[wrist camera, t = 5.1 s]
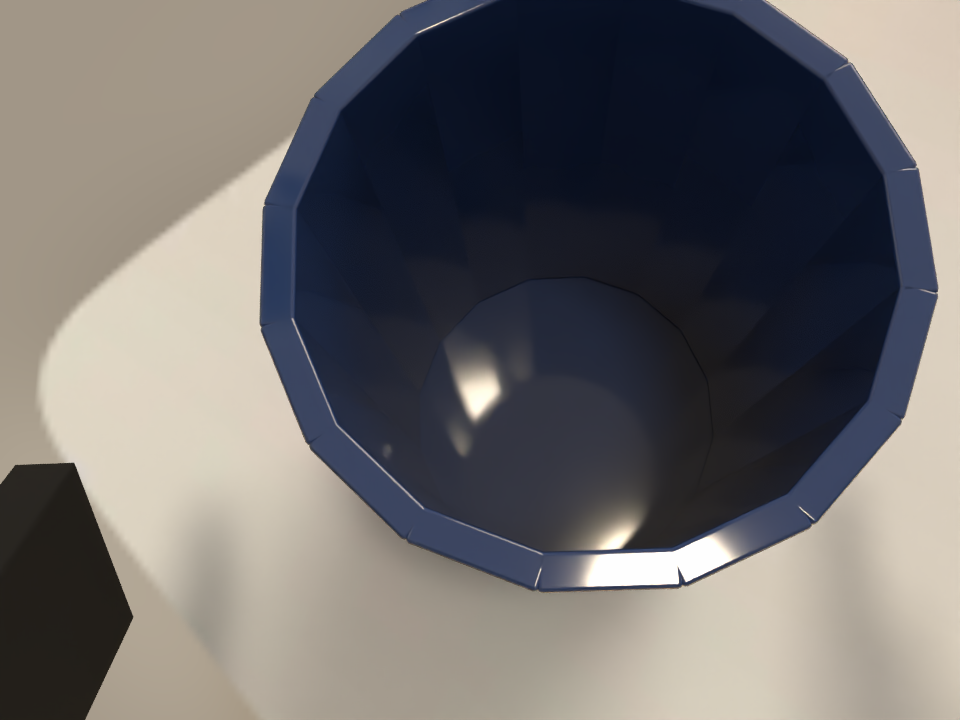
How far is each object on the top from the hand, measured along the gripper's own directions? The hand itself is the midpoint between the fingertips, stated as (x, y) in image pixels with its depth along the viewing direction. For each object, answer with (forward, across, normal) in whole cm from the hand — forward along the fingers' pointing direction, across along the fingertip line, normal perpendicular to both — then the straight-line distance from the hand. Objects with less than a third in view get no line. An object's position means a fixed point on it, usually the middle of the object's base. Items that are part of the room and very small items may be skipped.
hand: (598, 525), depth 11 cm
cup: (+8, 0, -4) cm, 9 cm away
